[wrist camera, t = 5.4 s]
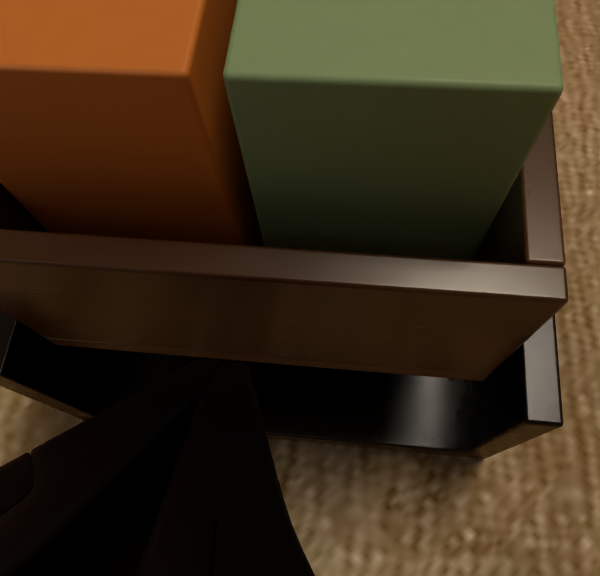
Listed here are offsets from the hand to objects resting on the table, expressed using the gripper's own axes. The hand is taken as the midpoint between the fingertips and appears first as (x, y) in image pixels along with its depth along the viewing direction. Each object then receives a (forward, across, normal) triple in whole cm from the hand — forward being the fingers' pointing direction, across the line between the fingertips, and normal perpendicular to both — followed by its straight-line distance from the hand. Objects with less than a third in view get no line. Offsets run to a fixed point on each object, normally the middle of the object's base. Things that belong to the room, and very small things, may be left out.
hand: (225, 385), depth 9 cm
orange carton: (+6, +2, -1) cm, 6 cm away
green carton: (+6, -2, -1) cm, 6 cm away
